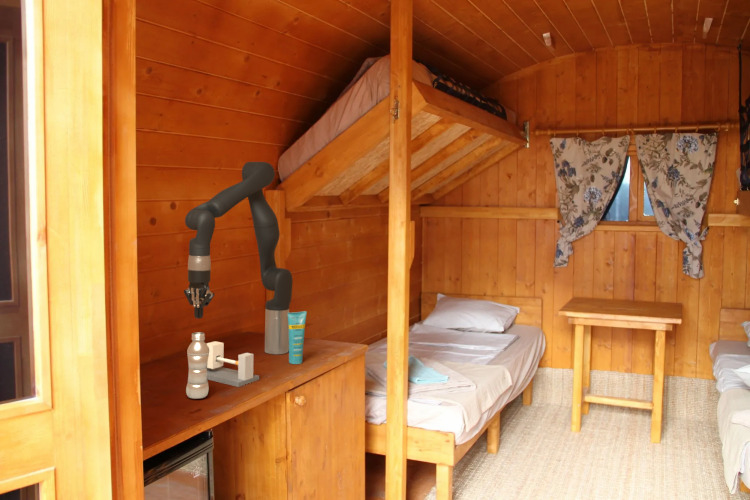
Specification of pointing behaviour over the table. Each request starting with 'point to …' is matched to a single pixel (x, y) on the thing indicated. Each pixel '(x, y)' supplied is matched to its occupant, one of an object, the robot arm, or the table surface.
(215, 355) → the sleeve
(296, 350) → the tube
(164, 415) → the table surface
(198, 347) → the plastic bottle
